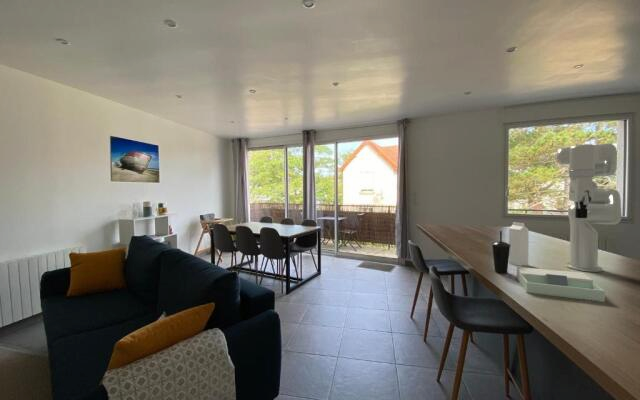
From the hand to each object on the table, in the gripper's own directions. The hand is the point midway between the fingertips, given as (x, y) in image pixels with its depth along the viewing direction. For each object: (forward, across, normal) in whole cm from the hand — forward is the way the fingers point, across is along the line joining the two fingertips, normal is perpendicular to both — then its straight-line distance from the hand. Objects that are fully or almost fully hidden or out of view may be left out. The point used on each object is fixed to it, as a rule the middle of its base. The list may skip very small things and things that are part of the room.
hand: (581, 217), depth 111 cm
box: (+27, +19, -12) cm, 35 cm away
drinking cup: (+27, -2, -28) cm, 39 cm away
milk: (+27, -20, -18) cm, 38 cm away
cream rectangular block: (+27, +10, -12) cm, 31 cm away
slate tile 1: (+24, +15, -12) cm, 31 cm away
